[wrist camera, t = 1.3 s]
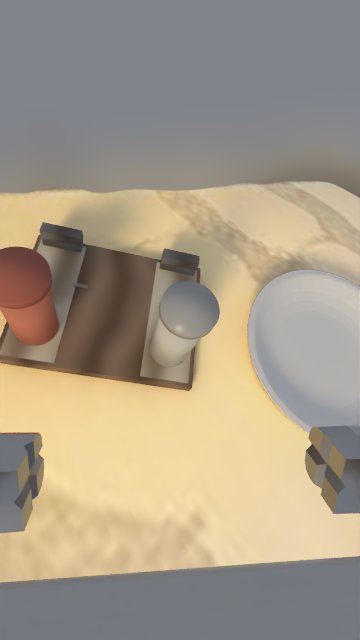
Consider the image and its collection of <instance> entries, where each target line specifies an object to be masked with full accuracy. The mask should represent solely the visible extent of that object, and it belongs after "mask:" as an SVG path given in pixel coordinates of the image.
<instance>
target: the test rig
mask: <svg viewBox="0 0 360 640" xmlns="http://www.w3.org/2000/svg"><path fill="white" fill-rule="evenodd" d="M40 234H41V235H39V236H38V238H37V241H36V244H35V247H34V249H33V250H34V251H36V252H38V253H39V254H41V255H42V256H43V257H44V258H45V259H46V261H47V262H48V264H49V267H50V270H51V275H52V285H51V289H50V290H51V294H52V297H53V301H54V305H55V309H56V313H57V317H58V321H59V328H58V332H57V334H56V335H55V337H54V338H53V339H51V340H50V341H49V342H47V343H45V344H42V345H37V346H32V345H27V344H24V343H22V342H21V341H19V340H18V339H17V337H16V336H15V334H14V333H13V331H12V329H11V327H10V326H9V324H8V322H6V325H5V327H4V330H3V333H2V335H1V338H0V363H4V364H10V365H17V366H24V367H31V368H37V369H44V370H51V371H58V372H65V373H71V374H78V375H85V376H92V377H98V378H105V379H112V380H119V381H126V382H132V383H139V384H146V385H153V386H159V387H166V388H173V389H180V390H187V391H189V390H190V389H191V388H192V379H193V365H194V351H195V346H194V348H193V349H192V350H191V352H190V353H189V354H188V356H187V357H186V359H185V360H184V361H183V362H182V363H181V364H179V365H177V366H174V367H165V366H162V365H160V364H158V363H157V362H155V361H154V359H153V358H152V357H151V355H150V352H149V342H150V340H151V337H152V334H153V332H154V329H155V327H156V324H157V321H158V319H159V316H160V315H159V305H160V302H161V299H162V296H163V294H164V292H165V291H166V289H167V288H168V287H170V286H171V285H173V284H175V283H177V282H181V281H192V282H196V283H199V282H200V268H197V267H198V265H199V256H196V255H192V254H187V253H182V252H178V251H173V250H169V249H164V251H163V255H162V258H161V260H157V259H152V258H147V257H143V256H138V255H133V254H128V253H124V252H119V251H114V250H109V249H105V248H100V247H95V246H90V245H86V244H83V234H82V231H81V230H76V229H72V228H67V227H62V226H58V225H53V224H49V223H44V222H43V223H42V226H41V228H40Z"/></svg>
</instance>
